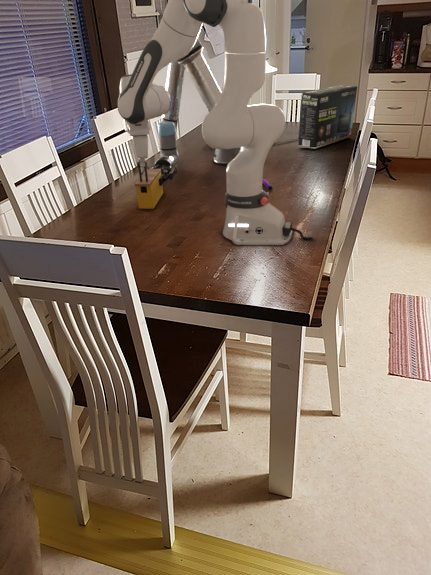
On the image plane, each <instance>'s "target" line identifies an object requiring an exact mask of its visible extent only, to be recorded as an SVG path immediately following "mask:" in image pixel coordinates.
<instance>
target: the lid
mask: <svg viewBox="0 0 431 575" xmlns="http://www.w3.org/2000/svg"><path fill="white" fill-rule="evenodd" d="M136 166H137V168H138V175H139V177H138V179H137V180H136V182H135V183H134V187H136V186H151V184H152V183H153V181H154V180H155V179H156V177H157V176H158V175H159V173H160V172H161V169H147V166H148V162H147V161H145V167H143V170H144V169H145V172H144V173H143V174H141V172H142V167H140V162H139V161H136Z"/></svg>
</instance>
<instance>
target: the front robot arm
mask: <svg viewBox="0 0 431 575" xmlns="http://www.w3.org/2000/svg"><path fill="white" fill-rule="evenodd" d="M203 24H205V25H207V26H209V27H211V28H215V27H217V26H219V27H220V28H221V30H222V33H223V39H224V46H223V47H224V49H223V50H224V53H223V54H224V58H223V60H224V61H223V62H224V65H223V66H224V67H223V68H224V69H223V72H224V73H223V81H222V82H223V83H222V87H221V94H220V97H219V99H218V101H217V103H216V105H215V106H214V108H213V109H212V110H211V111H210V112H208V113H207V114H206V115H205V116H204V118H203V121H202V124H201V136H202V138H203V140H204V142H205V144H206V145H207V146H208V147H209V148H210V149H213V150H216V149H232V148H238V147H241V149H240V151H239V153H238V155H237V156H236V157H235V158H234V159H233V160H231V161H230V162H229V164H228V165H226V169H225V177H226V178H225V179H226V180H225V183H226V190H225V194H224V205H225V209H226V210H225V218H224V219H225V220H224V226H223V229H222V235H223V237H225V239H228V240H230V241H232V243H233V244H234V245H236V246H283V245H286V244H288V243H289V242H290V240H291V239H292V237H293V232H296V233H298V234H299V236H300V238H301V239H302V240H305V241H309V240H311V241H312V240H314V237H313V236H304V234H303V232H302V231H301V230H299V229H297V228H294V227H293V222H290V221H286V219H285V215H284V213H283V212H282V211H280V210H279V209H278V208H277V207H276V206H275V205H272V204H271V203H270V202H269V194H270V192H269V191H267V192H266V191H265V190H263V183H262V179H263V178H264V177H263V176H264V169H265V168H264V167H265V162H266V159H267V157H268V154H269V152H270V150H271V149H272V147H273V145H275V144H274V143H275V142H277V141H278V140H279V139H280V138H281V137H282V135H283V133H284V131H285V127H286V117H285V114H284V112H283V110H282V109H281V108H280V107H279V106H278V105H276V104H275V105H274V104H267V103H258V104H251V105H249V103H250V101H251V98H252V97H253V95H254V94H256V92H258V91H259V90H260V89H261V88H262V87H263V85H264V84H265V81H266V59H267V58H266V57H267V56H266V55H267V35H266V25H265V24H266V23H265V15H264V13H263V10H262V9H261V8H260V7H259V6H258V5H257V4H254V0H168V1H167V3H166V5H165V8H164V11H163V14H162V17H161V19H160V22H159V24H158V26H157V28H156V29H155V32H154V34H153V36H152V37H151V38H150V40H149V41H148V42H147V44H146V45H145V46H144V48H143V50H142V52H141V54H140V55H139V58H138V60H137V62H136V63H135V67H134V69H133V71H132V73H130V74H126V75H123V76H122V77H121V78H120V80H119V81H120V82H119V95H118V99H117V105H116V106H117V111H118V113H119V115H120V117H121V118H122V119H123V125H124V131H125V132H126V133H128V135H129V137H130V138H131V140H132V143H133V148H134V151H135V155H136V158H137V159H138V162H140V167H141V168H144V167H145V162H146V160H145V159H148V158H149V136H148V135H150V131H151V128H152V127H151V120H152V119H155V118H160V117H162V116H163V115H164V114H166V113H167V112H168V111H169V109H170V96H169V94H168V92H167V90H166V89H165V87H164V86H162V85H158V84H156V83H154V80H155V78H156V76H157V74H158V73H159V72H160V71H161V70H163V69H164V68H165V67H168V64H170V63H172V62H174V61H176V60H179V59H181V58H183V57H185V56H186V55H187V54H188V53H189V52H190V51H191V49H192V48H193V46H194V44H195V42H196V40H197V37H198V38H199V35H200V33H201V29H202V26H203Z"/></svg>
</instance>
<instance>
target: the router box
mask: <svg viewBox="0 0 431 575" xmlns="http://www.w3.org/2000/svg"><path fill="white" fill-rule="evenodd" d="M357 93H358V86H356V85H350V84H339V85H338V84H337V85H334V86H328V87H324V88H318V89H314V90H309V91H304V92H301V93H300V109H299V110H300V111H299V124H298V137H297V138H298V139H297V146H298V145H302V146H307V147H317V146H320V145H323V144H325V143H328V142H331V141H333V140H336V139H338V138H341V137H344V136H347V135H351V136H352V133H353V132H352V131H353V125H354V115H355V109H356V99H357ZM311 151H313V150H312V149H311Z"/></svg>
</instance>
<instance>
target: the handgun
mask: <svg viewBox="0 0 431 575" xmlns="http://www.w3.org/2000/svg"><path fill="white" fill-rule="evenodd" d="M262 185H264V186H265V188H266V189H267V190H268V192H269V191H270V192H271V191H272V190H273V188H274V187H273V186H272V185H271V184H270V182H268V180H267V179H265V178H264V177H263V179H262Z"/></svg>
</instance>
